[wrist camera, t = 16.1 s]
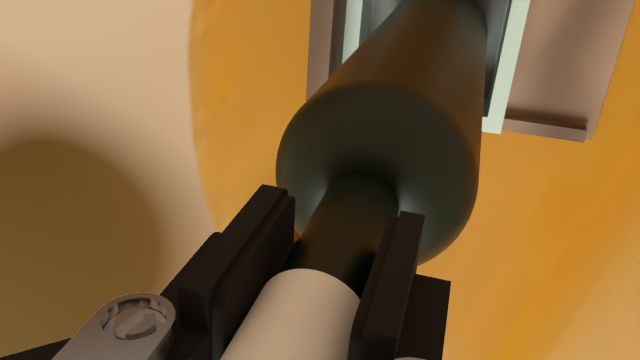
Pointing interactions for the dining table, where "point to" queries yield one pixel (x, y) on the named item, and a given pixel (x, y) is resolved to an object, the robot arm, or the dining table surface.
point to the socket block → (502, 45)
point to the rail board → (523, 62)
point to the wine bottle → (373, 172)
